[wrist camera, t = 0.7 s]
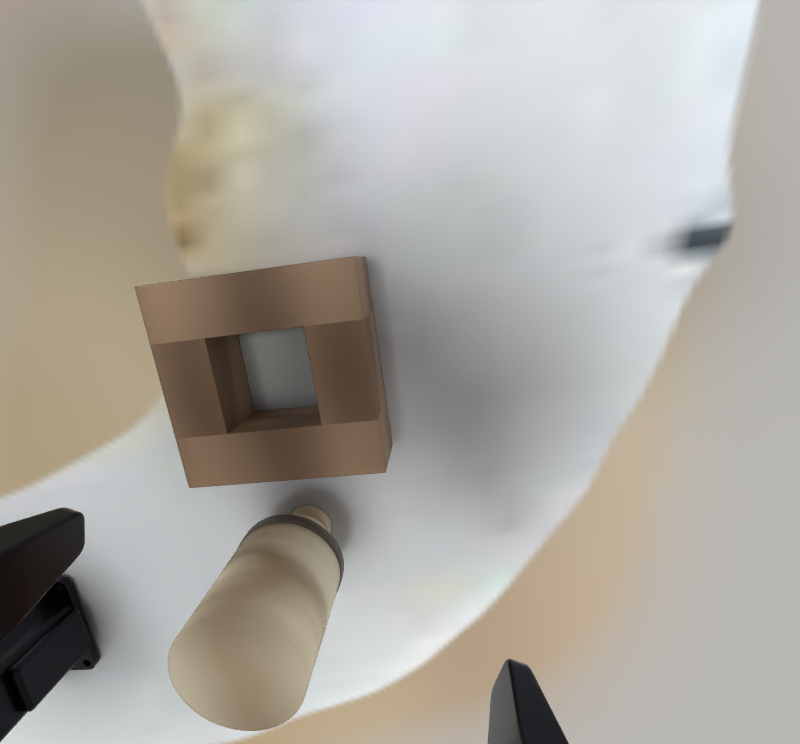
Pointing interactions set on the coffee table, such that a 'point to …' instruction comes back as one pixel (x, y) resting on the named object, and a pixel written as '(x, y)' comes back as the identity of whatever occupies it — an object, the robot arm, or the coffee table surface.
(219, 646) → the peg
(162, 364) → the brown square frame
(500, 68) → the coffee table surface
